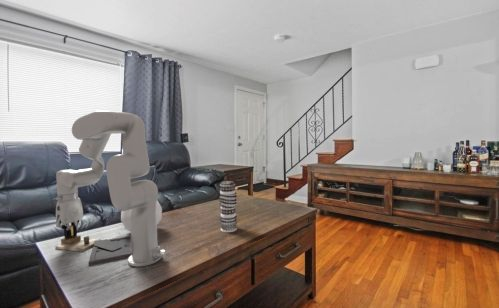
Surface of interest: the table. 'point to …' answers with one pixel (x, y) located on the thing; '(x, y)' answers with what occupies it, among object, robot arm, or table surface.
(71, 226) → the brass pin
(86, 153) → the robot arm
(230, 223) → the decorative candle
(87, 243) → the board
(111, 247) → the picture frame
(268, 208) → the table surface
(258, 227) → the table surface
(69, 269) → the table surface
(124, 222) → the geometric orb
